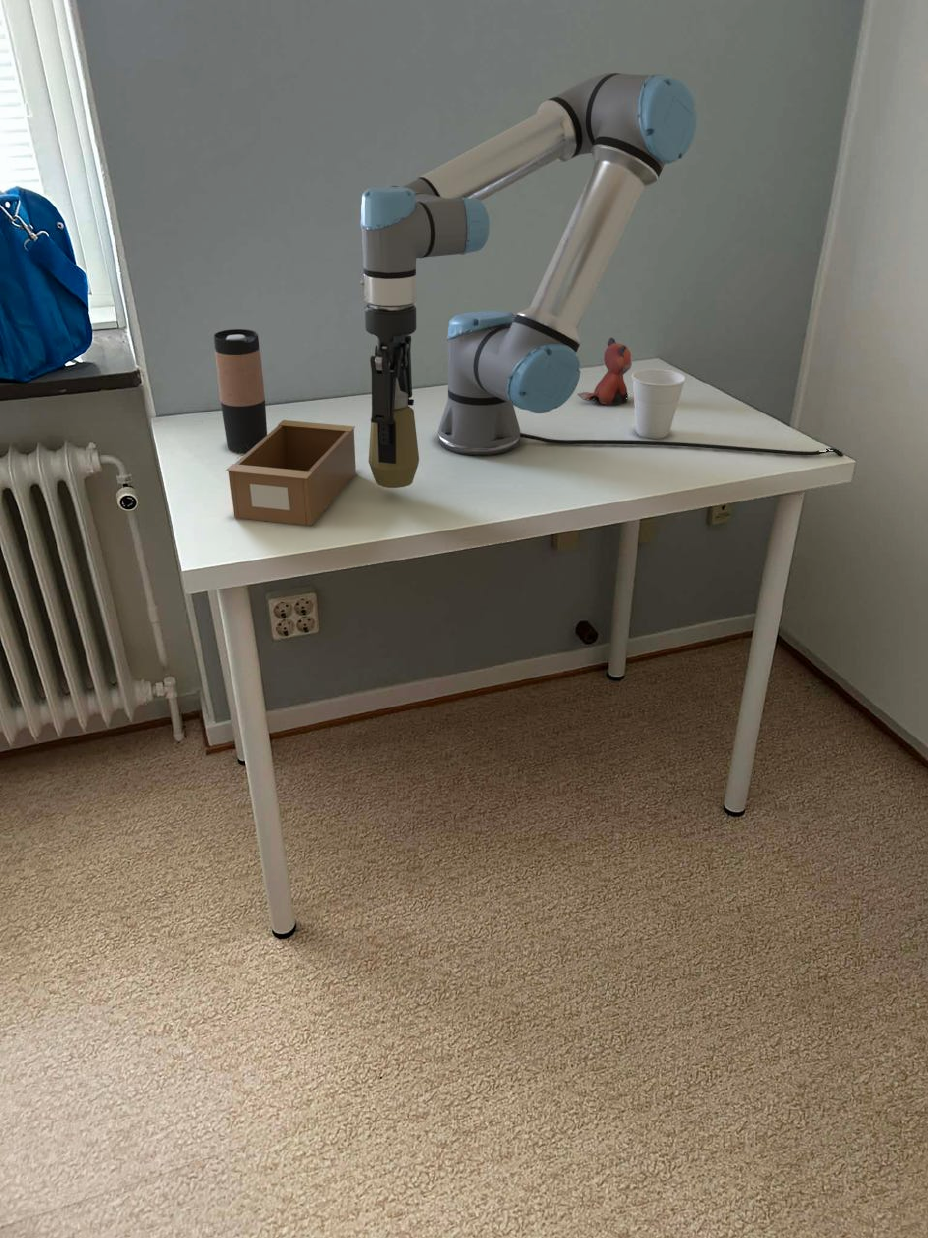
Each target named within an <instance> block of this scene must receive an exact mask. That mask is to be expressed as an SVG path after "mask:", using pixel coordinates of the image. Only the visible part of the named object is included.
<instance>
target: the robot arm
mask: <svg viewBox="0 0 928 1238" xmlns="http://www.w3.org/2000/svg"><path fill="white" fill-rule="evenodd" d="M697 125H698V112H696V101H695V98H694V95H693V92H692V91H691V89H690V88H689V87H688V85H687V84H686V83H685V82H684V81H683V80H681V79H679V78H677V77H673V76H667V75H664V74H661V73H655V74H651V75H650V74H649V75H648V74H630V73H629V74H628V73H617V72H609V73H603V74H599V75H596V76H593V77H590V78H588V79H586V80H584V81H581V82H580V83H578V84H575V85H573V86H572V87H569V88H567V89H565V90H564V91H562V92H560V93H558V94H556V95H554V96H552V97H551V98H548V99H547V100H545V101H543V102H542V103H541V104H540V105H539V107H538V108H537V110H536V114H534V115H532V116H530V117H528V118H526V119H524V120H523V121H520V122H519V123H517V124H515V125H513V126H511V127H509V128H508V129H506V130H504V131H502V132H500V133H498V134H497V135H495V136H493V137H491V138H489V139H488V140H486V141H484V142H482V143H480V144H479V145H476V146H475V147H473V148H472V149H469V150H467V151H466V152H464V153H462V154H460V155H458V156H456V157H455V158H453V159H451V160H449V161H447V162H445V163H443V164H442V165H439V166H438V167H436V168H435V169H433V170H430V171H429V172H427V173H424V174H423V175H421V176H418V177H417V178H415V179H413V180H411V181H408V183H406V184H403V185H401V186H399V185H387V186H375V187H369V188H368V189H366V190H365V191H364V192H363V193H362V195H361V196H362V197H361V206H360V210H361V211H360V224H359V225H360V228H361V241H362V242H361V244H362V264H363V266H362V267H363V278H361V279H360V285H361V286H363V287H364V289H363V290H364V292H363V293H364V301H365V302H366V303H367V304H366V306H365V307H364V325H365V326H364V327H365V330H366V332H367V333H368V334H369V335H374V336H375V337H377V345H375V347H374V355H370V359H369V361H370V370H371V417H372V418H370V423H371V422H373V423H377V435H378V462H380V463H390V464H396V422H393V421H394V419H393V418H394V403H395V388H396V378H398V383H399V387H400V391H403V392H405V393H406V394H407V395H408V406H409V407H411V406H414V403H415V402H414V401H415V400H414V399H411V398H412V397H413V385H412V384H413V383H412V358H411V357H412V356H411V349H412V336H411V335H413V334H414V333H415V331H416V330H417V307H416V306H415V303H416V302H417V259H425V258H434V257H444V256H455V255H456V256H457V255H461V256H464V255H466V254H471V253H475V252H479V251H481V250H482V249H483V248H484V247H485V246H486V245H487V242H488V240H489V237H490V225H491V221H490V216H489V212H488V210H487V207H486V206H485V204H484V203H483V202H482V201H485V200H487V199H488V198H490V197H492V196H493V195H495V194H497V193H499V192H500V191H502V190H504V189H507V188H508V187H509V186H511V185H514V184H515V183H517V182H518V181H520V180H523V179H524V178H525V177H528V176H529V175H531V174H533V173H535V172H537V171H538V170H540V169H542V168H544V167H546V166H547V165H549V164H552V163H553V162H555V161H557V162H561V163H565V162H568V161H570V160H571V159H574V158H575V157H578V156H581V155H586V154H591V156H592V159H593V162H594V164H593V167H592V170H591V172H590V174H589V177H588V179H587V181H586V183H585V185H584V187H583V190H582V192H581V194H580V196H579V198H578V201H577V203H576V205H575V207H574V210H573V211H572V214H571V216H570V218H569V220H568V222H567V225H566V227H565V229H564V231H563V234H562V236H561V238H560V240H559V242H558V245H557V247H556V249H555V250H554V252H553V253H554V254H553V256H552V257H551V260H550V262H549V264H548V266H547V269H546V271H545V273H544V275H543V277H542V279H541V281H540V284H539V286H538V289H537V291H536V293H535V295H534V297H533V300H532V301H531V304H530V306H529V307H527V308H526V309H523V310H521V311H519V312H517V313H515V314H514V313H512V312H510V311H504V310H503V311H502V310H501V311H500V310H485V311H484V310H482V311H472V312H466V313H460V314H457V315H455V316H453V317H452V318H451V319H450V320H449V322H448V327H447V337H446V341H447V400H446V404H445V407H444V410H443V413H442V415H441V419H440V422H439V425H438V428H437V443H438V444H439V445H440V446H441V447H442V448H444V449H446V450H448V451H451V452H453V453H458V454H461V455H468V456H469V455H470V456H492V455H500V454H504V453H508V452H510V451H513V450H515V449H516V448H517V447H519V446H520V444H521V439H522V438H523V439H528V440H534V441H538V442H542V443H547V444H556V445H558V444H559V445H644V446H645V445H646V446H666V447H667V446H668V447H670V446H671V447H683V448H684V447H686V448H699V449H701V448H702V449H714V450H726V451H727V450H728V451H739V452H751V453H764V454H765V453H766V454H775V455H776V454H777V455H789V456H790V455H791V456H820V455H823V454H828V453H834V454H836V455H837V456H838V457H844V456H845V455H844V454H843V452H842V451H841V450H840V449H837V448H834V447H828V449H830V450H833V451H829V450H828V449H827V448H825V449H826V450H827V451H826V452H819V450H815V451H813V450H812V451H807V450H806V451H804V450H802V451H801V450H788V449H787V450H786V449H777V448H776V449H774V448H760V447H748V446H738V445H737V446H734V445H724V444H712V443H711V444H710V443H699V442H698V443H697V442H696V443H695V442H682V441H681V442H680V441H662V440H634V439H633V440H632V439H630V440H629V439H628V440H627V439H553V438H547V437H542V436H537V435H532V434H527V433H521V427H520V425H519V420H518V417H517V414H516V410H515V407H516V408H518V409H519V410H523V411H528V412H531V413H534V414H546V413H550V412H552V411H553V410H556V409H559V408H560V407H561V406H563V405H564V404H565V403H566V402H567V401H568V400H569V399H570V398H571V396H572V395H573V394H574V392H575V390H576V388H577V386H578V384H579V382H580V377H581V370H580V369H579V368H580V367H581V362H580V358H579V356H578V355H577V352H578V350H579V348H580V346H581V339H580V337H579V334H578V329H579V326H580V324H581V322H582V320H583V319H584V316H585V314H586V312H587V310H588V307H589V306H590V303H591V301H592V299H593V297H594V294H595V292H596V291H597V288H598V286H599V284H600V282H601V280H602V278H603V276H604V273H605V271H606V269H607V267H608V265H609V263H610V260H611V258H612V256H613V254H614V252H615V251H616V247H617V245H618V244H619V241H620V239H621V237H622V235H623V232H624V230H625V229H626V226H627V224H628V221H629V220H630V218H631V215H632V213H633V211H634V210H635V207H636V205H637V203H638V200H639V198H640V196H641V194H642V192H643V190H644V189H645V188H647V187H649V186H651V185H654V184H656V183H657V182H658V180H659V179H660V176H661V174H662V172H663V170H664V168H665V166H666V165H669V164H672V163H675V162H677V161H678V160H679V159H682V158H683V157H684V156H686V154H687V153H688V152H689V150H690V149H691V147H692V144H693V142H694V140H695V136H696V132H697ZM390 370H391V371H393V372H390Z"/></svg>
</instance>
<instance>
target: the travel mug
mask: <svg viewBox="0 0 928 1238" xmlns="http://www.w3.org/2000/svg"><path fill="white" fill-rule="evenodd" d="M213 344H214V353H215V361H216V370H217V371H216V372H217V381H218V391H219V399H220V406H221V407H220V408H221V412H222V419H223V425H224V431H225V432H224V433H225V438H226V439H225V440H226V445H227V448H228V450H229V451H230V452H232V453H236V454H237V453H238V454H246V453H247V452H249V451H250V450H251V449H252V448H253V447H254V446H255V445H257V444H258V443H259V442H260V441H261V440H262V439H263V438H265V437H266V436H267V435H268V427H267V411H266V410H267V409H266V395H265V385H264V378H263V377H264V375H263V368H262V357H261V349H260V338H259V334H258V332H257V331H255V330H251V329H245V328H233V329H225V330H221V331H220V330H219V331H218V332H216V333H214V334H213Z"/></svg>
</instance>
